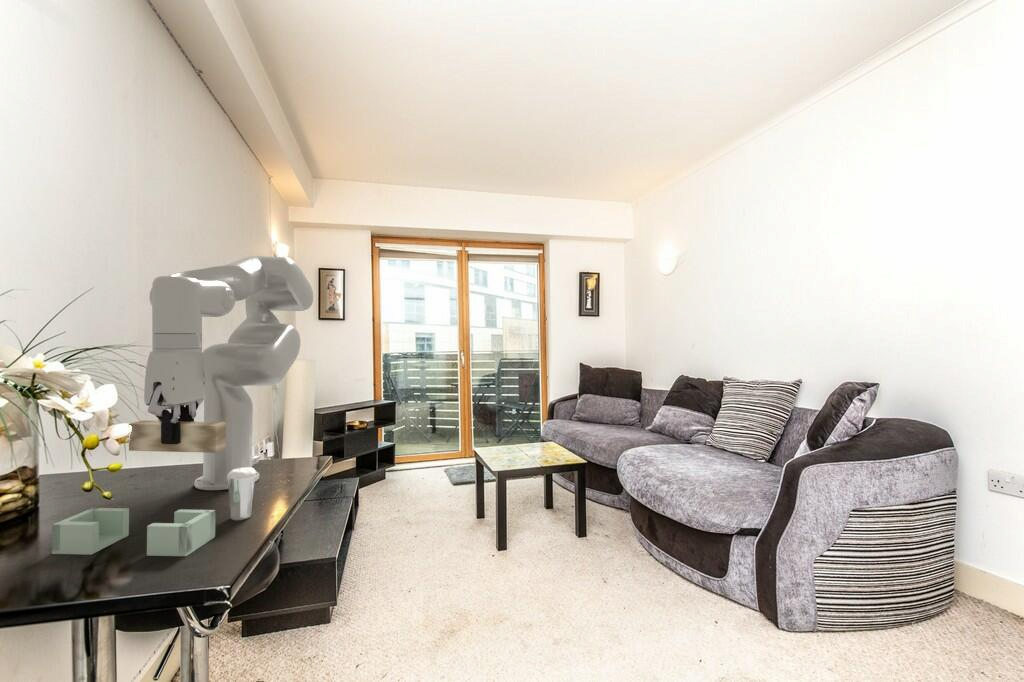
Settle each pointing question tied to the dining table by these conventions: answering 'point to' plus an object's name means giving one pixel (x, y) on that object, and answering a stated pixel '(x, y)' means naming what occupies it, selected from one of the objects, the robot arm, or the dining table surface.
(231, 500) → the milkshake
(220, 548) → the dining table surface
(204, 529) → the endcap
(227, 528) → the dining table surface
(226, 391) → the robot arm
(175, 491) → the dining table surface
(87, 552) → the endcap
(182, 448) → the slat
